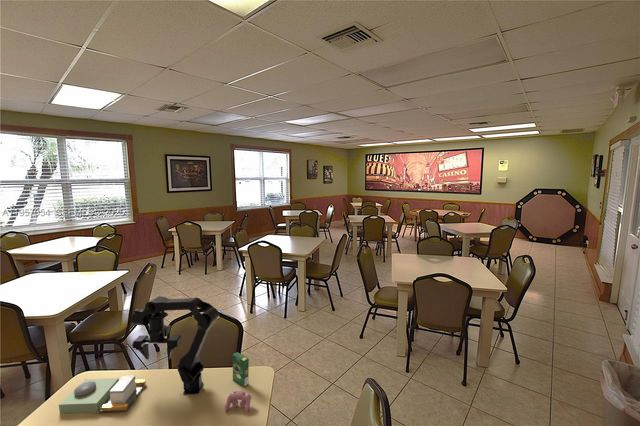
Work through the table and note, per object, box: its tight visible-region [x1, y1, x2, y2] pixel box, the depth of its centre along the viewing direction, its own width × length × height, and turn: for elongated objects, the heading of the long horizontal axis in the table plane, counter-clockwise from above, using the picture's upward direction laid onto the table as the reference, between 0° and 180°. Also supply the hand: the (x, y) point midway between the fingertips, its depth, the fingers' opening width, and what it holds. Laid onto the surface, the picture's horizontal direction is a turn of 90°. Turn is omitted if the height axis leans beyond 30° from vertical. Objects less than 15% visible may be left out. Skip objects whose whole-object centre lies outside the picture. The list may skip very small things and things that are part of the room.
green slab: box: [58, 377, 120, 415], centre depth 120 cm, size 14×14×6 cm
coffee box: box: [232, 351, 250, 388], centre depth 131 cm, size 8×3×13 cm, turn 57°
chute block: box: [109, 374, 137, 404], centre depth 121 cm, size 5×9×6 cm, turn 4°
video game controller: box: [224, 390, 252, 414], centre depth 118 cm, size 10×5×7 cm, turn 85°
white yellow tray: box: [98, 379, 147, 414], centre depth 121 cm, size 10×15×2 cm, turn 4°
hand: (158, 358), depth 128 cm, fingers open, 9 cm apart
